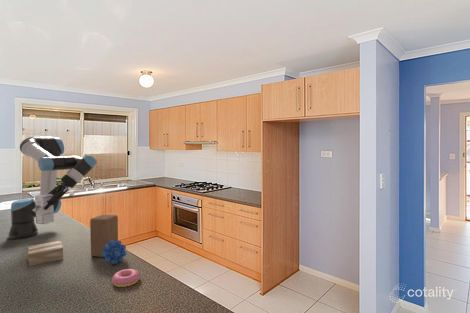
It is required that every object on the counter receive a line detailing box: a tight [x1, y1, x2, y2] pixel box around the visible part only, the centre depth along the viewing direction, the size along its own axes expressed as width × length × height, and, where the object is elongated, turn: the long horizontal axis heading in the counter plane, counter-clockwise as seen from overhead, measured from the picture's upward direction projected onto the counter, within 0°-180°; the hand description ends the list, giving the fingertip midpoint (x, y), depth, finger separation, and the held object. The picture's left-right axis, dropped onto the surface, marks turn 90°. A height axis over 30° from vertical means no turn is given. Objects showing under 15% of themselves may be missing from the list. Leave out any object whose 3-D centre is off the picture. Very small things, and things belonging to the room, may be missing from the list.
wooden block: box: [89, 214, 119, 258], centre depth 143 cm, size 10×10×20 cm
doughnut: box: [111, 268, 141, 288], centre depth 113 cm, size 11×11×4 cm
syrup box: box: [34, 193, 55, 225], centre depth 137 cm, size 6×6×14 cm
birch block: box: [27, 240, 64, 267], centre depth 138 cm, size 14×14×6 cm
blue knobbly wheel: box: [102, 240, 127, 265], centre depth 130 cm, size 12×7×12 cm, turn 135°
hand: (36, 213), depth 135 cm, fingers closed on syrup box, 7 cm apart
